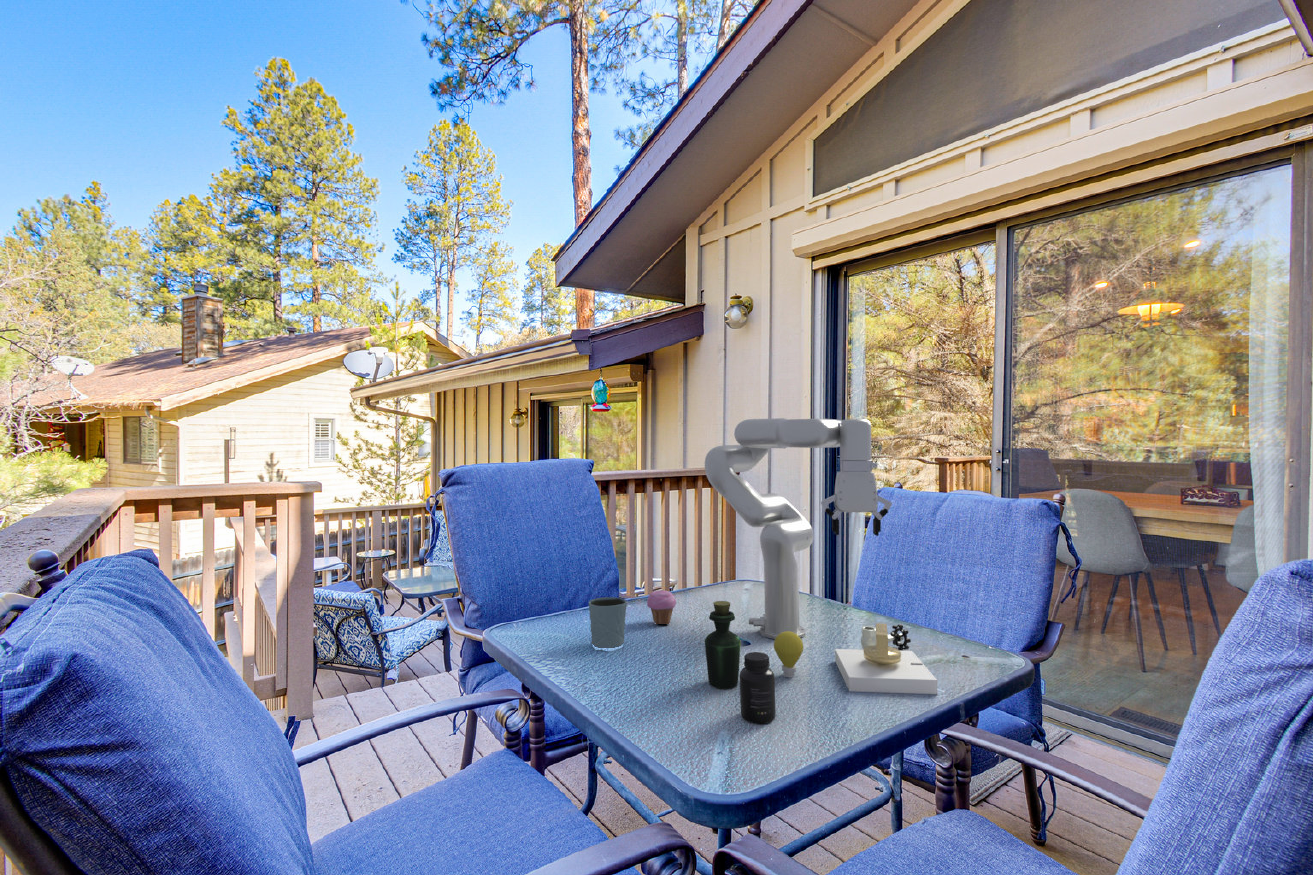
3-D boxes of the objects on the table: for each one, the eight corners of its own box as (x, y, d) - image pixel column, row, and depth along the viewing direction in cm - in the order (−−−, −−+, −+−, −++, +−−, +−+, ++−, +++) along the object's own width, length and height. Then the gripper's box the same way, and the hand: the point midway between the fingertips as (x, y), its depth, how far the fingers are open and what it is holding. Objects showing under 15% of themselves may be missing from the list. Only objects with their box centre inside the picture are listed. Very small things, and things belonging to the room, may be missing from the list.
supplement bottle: (737, 710, 121) (735, 650, 121) (770, 708, 122) (769, 648, 122) (744, 726, 114) (743, 662, 114) (780, 724, 115) (778, 661, 115)
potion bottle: (697, 682, 136) (696, 602, 136) (723, 673, 140) (722, 596, 141) (722, 694, 129) (721, 610, 129) (749, 684, 134) (747, 603, 134)
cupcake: (676, 627, 176) (676, 593, 176) (647, 628, 176) (646, 594, 177) (676, 619, 185) (675, 586, 185) (647, 619, 185) (647, 586, 185)
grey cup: (582, 649, 159) (581, 604, 159) (600, 638, 168) (599, 595, 168) (617, 654, 155) (616, 607, 155) (633, 642, 164) (632, 598, 164)
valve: (871, 659, 148) (911, 654, 152) (870, 632, 148) (910, 627, 152) (854, 651, 154) (893, 645, 158) (854, 625, 155) (893, 620, 158)
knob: (902, 670, 132) (901, 636, 132) (863, 667, 134) (862, 633, 134) (899, 653, 142) (898, 622, 142) (863, 650, 145) (863, 619, 145)
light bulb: (787, 683, 134) (786, 638, 134) (768, 673, 140) (767, 630, 140) (810, 677, 137) (809, 633, 138) (790, 667, 143) (790, 625, 143)
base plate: (849, 691, 129) (849, 676, 129) (835, 661, 147) (835, 648, 147) (937, 694, 127) (937, 678, 127) (912, 663, 145) (911, 649, 145)
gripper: (887, 466, 156) (888, 532, 156) (818, 466, 158) (819, 531, 158) (894, 468, 148) (895, 537, 148) (822, 468, 151) (823, 536, 151)
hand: (856, 534), depth 153 cm, fingers open, 9 cm apart
